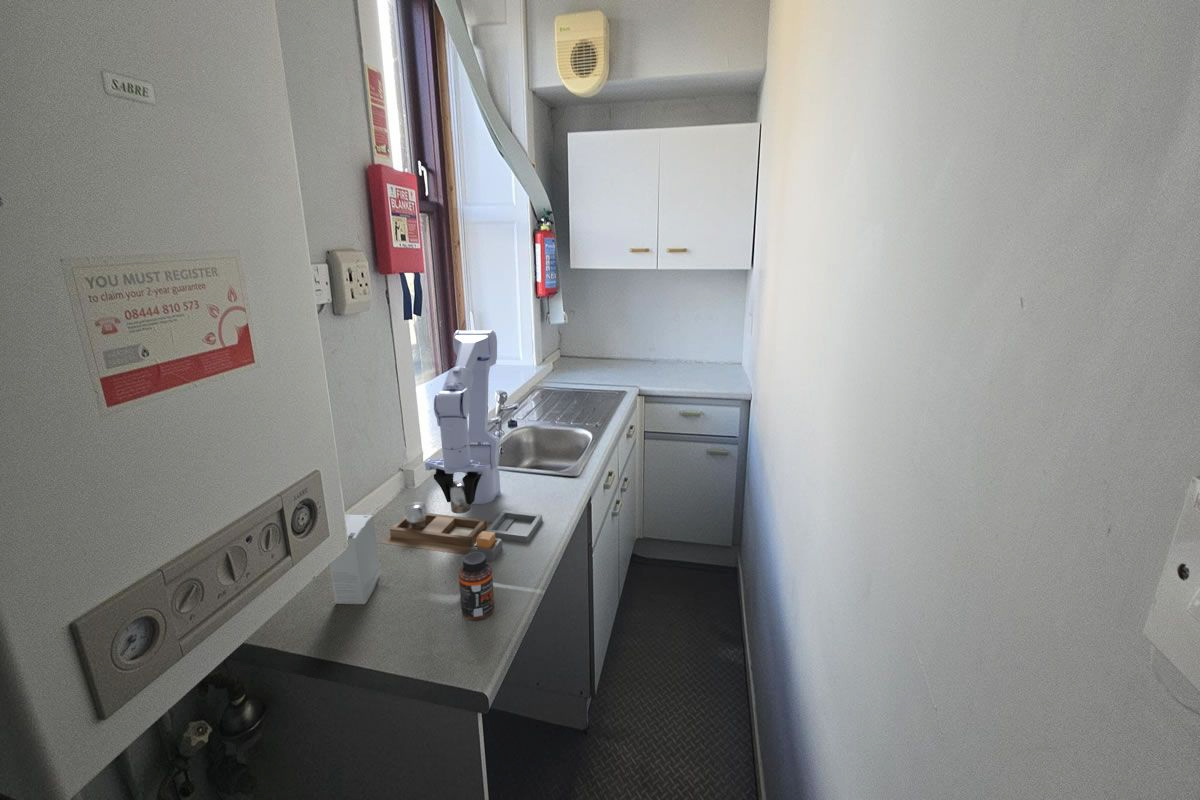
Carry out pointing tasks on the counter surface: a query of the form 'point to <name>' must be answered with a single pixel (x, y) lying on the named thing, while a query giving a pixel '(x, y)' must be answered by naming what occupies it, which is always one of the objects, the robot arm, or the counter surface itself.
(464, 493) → the billet
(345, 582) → the skincare box
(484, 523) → the wooden compartment tray
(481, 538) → the button
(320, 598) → the counter surface
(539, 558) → the counter surface
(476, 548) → the button housing
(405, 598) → the counter surface
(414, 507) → the cylinder
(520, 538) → the shallow grey tray
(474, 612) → the supplement bottle
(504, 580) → the counter surface
